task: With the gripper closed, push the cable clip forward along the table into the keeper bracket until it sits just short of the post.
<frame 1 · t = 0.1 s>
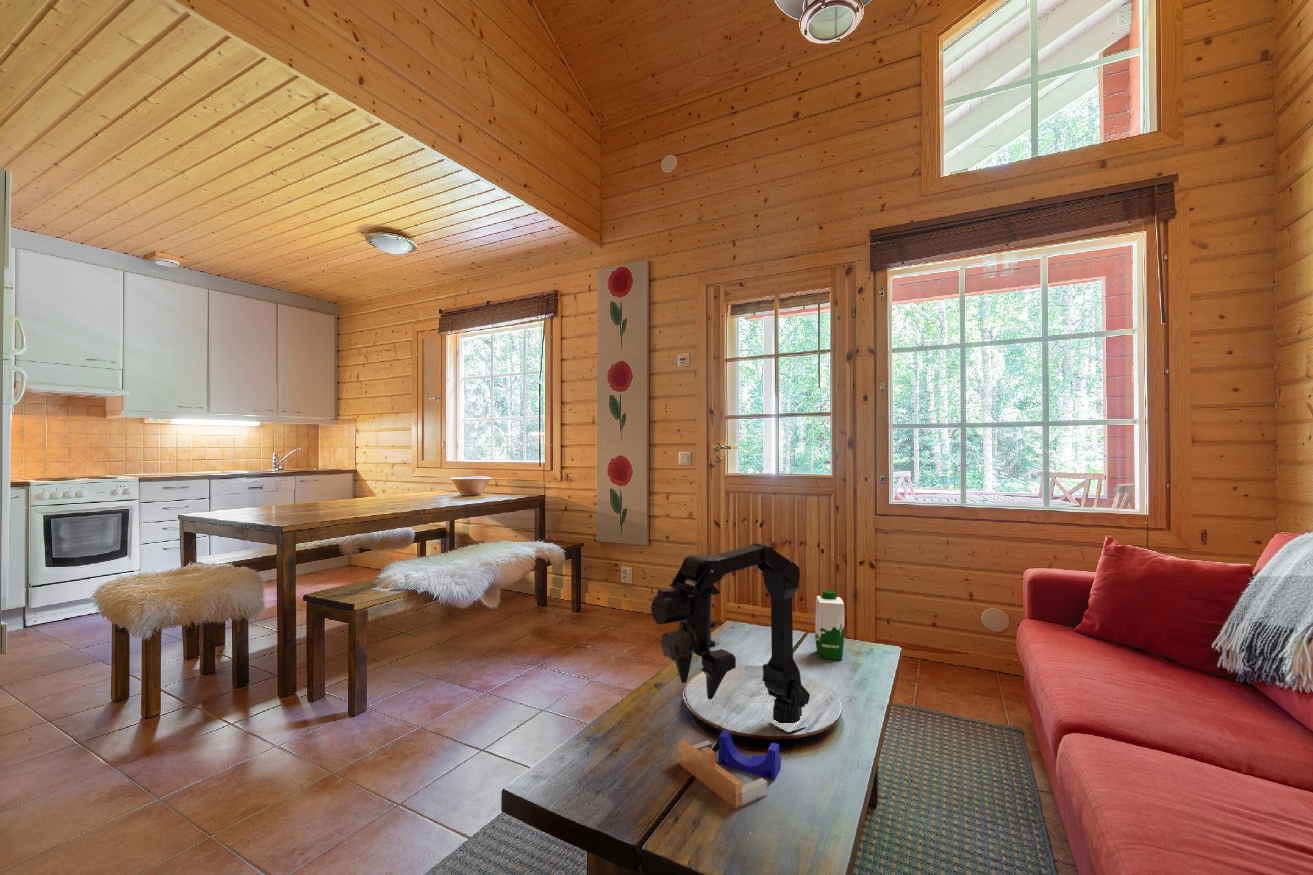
hand: (696, 690, 121), 15 cm above the table, tool pointing down, fingers open, 9 cm apart
keeper: (720, 777, 114), on the table
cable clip: (749, 768, 118), on the table
milk carton: (829, 656, 183), on the table
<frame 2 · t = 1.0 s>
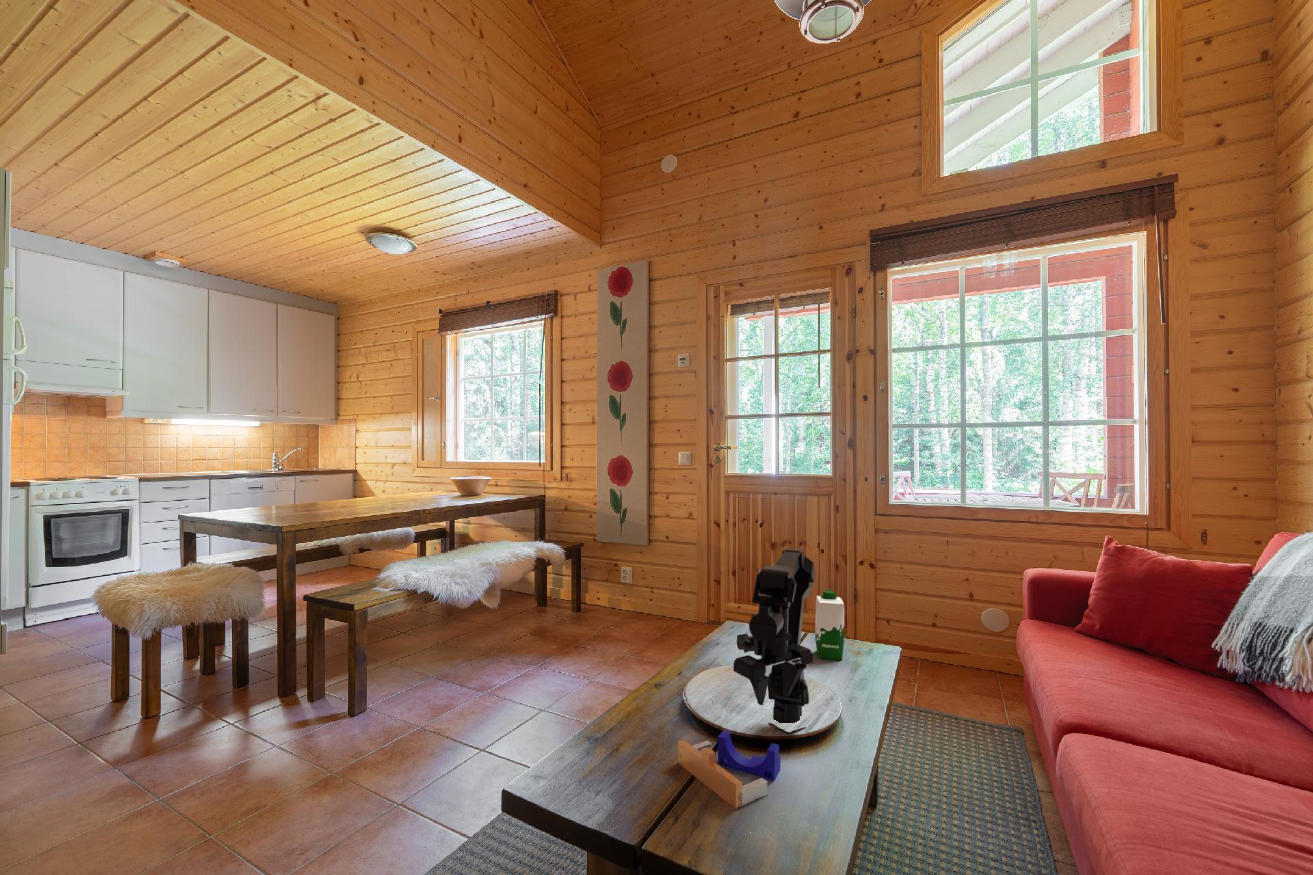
hand: (773, 700, 123), 12 cm above the table, tool pointing down, fingers open, 7 cm apart
nothing on the table moved.
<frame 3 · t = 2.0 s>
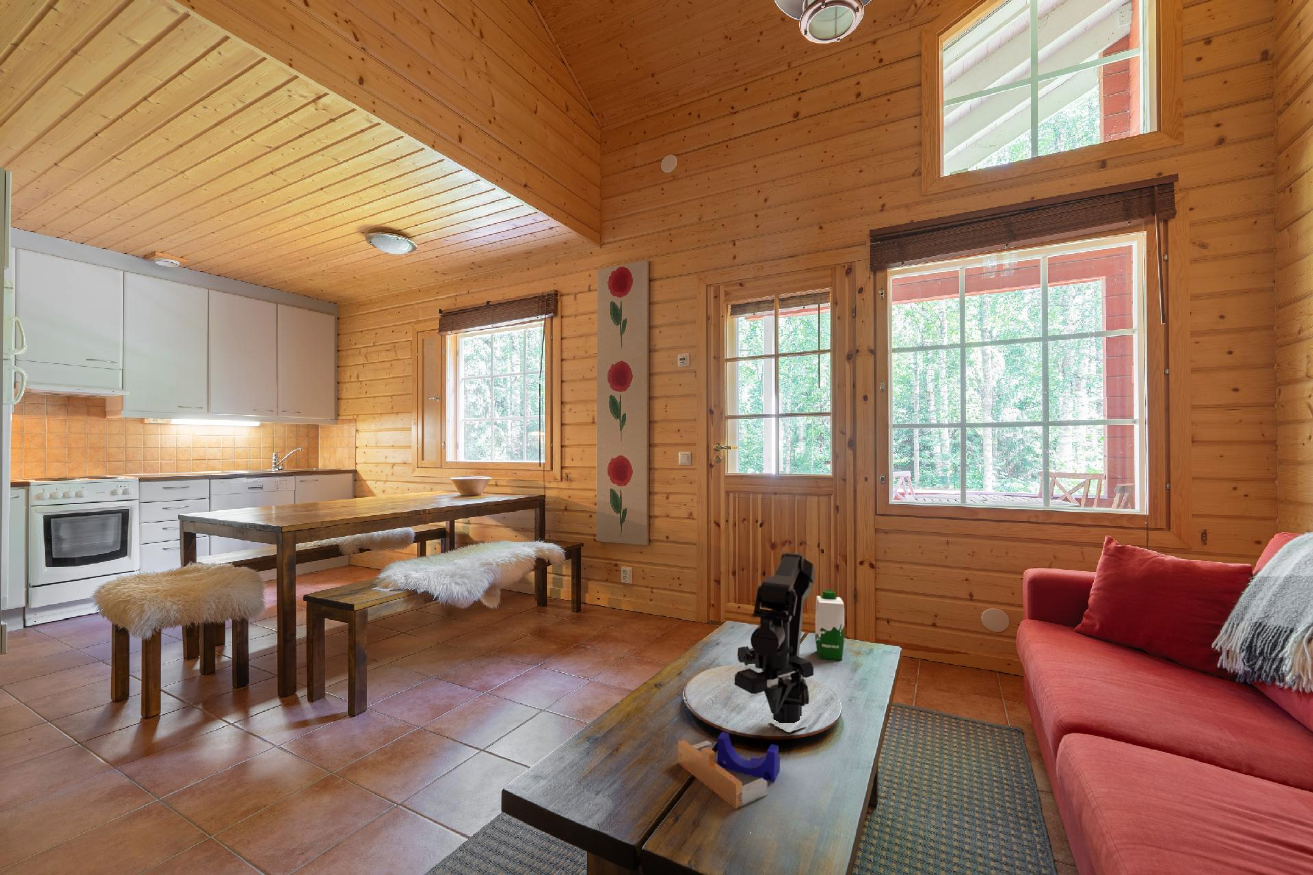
hand: (774, 713, 123), 9 cm above the table, tool pointing down, fingers closed
nothing on the table moved.
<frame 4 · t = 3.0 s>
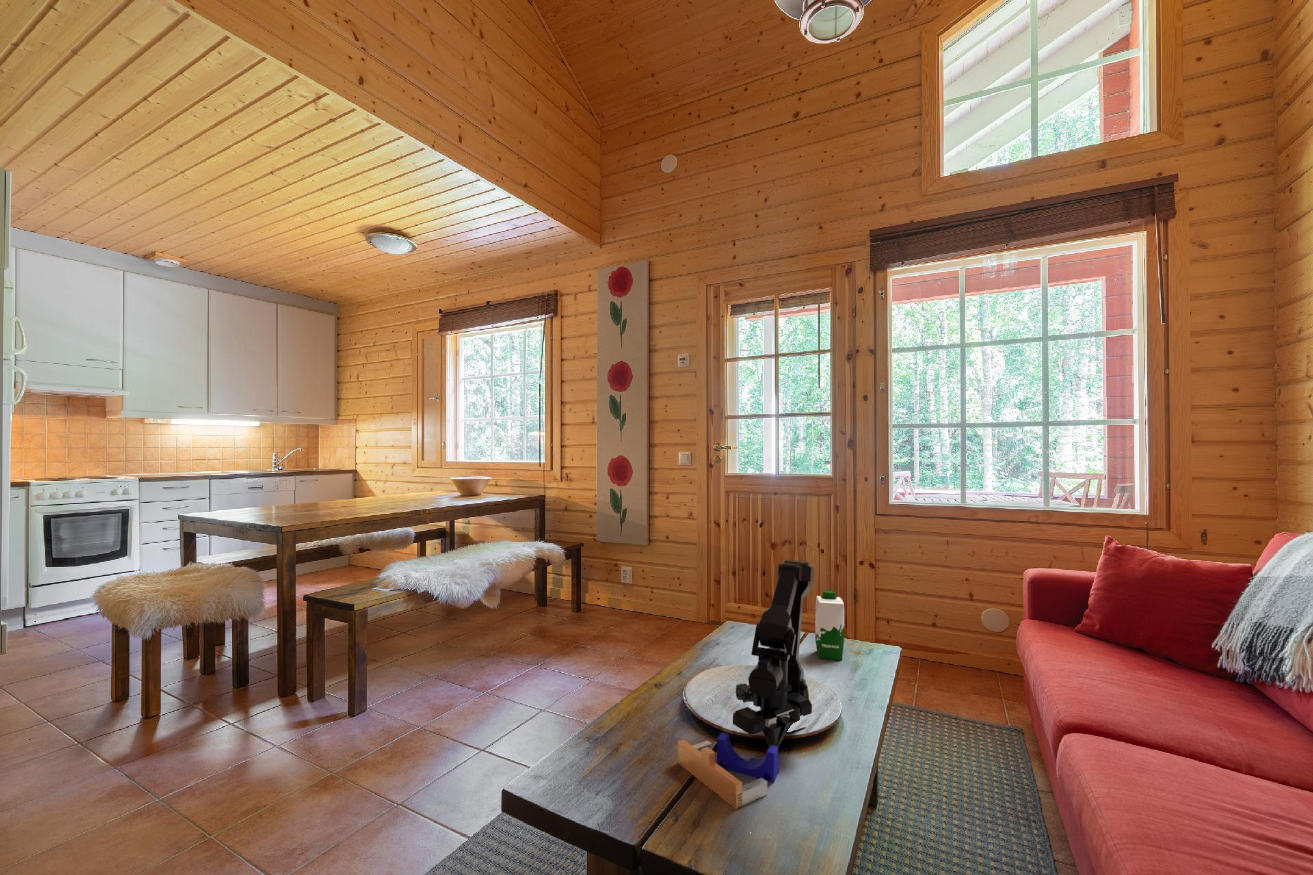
hand: (772, 751, 122), 1 cm above the table, tool pointing down, fingers closed
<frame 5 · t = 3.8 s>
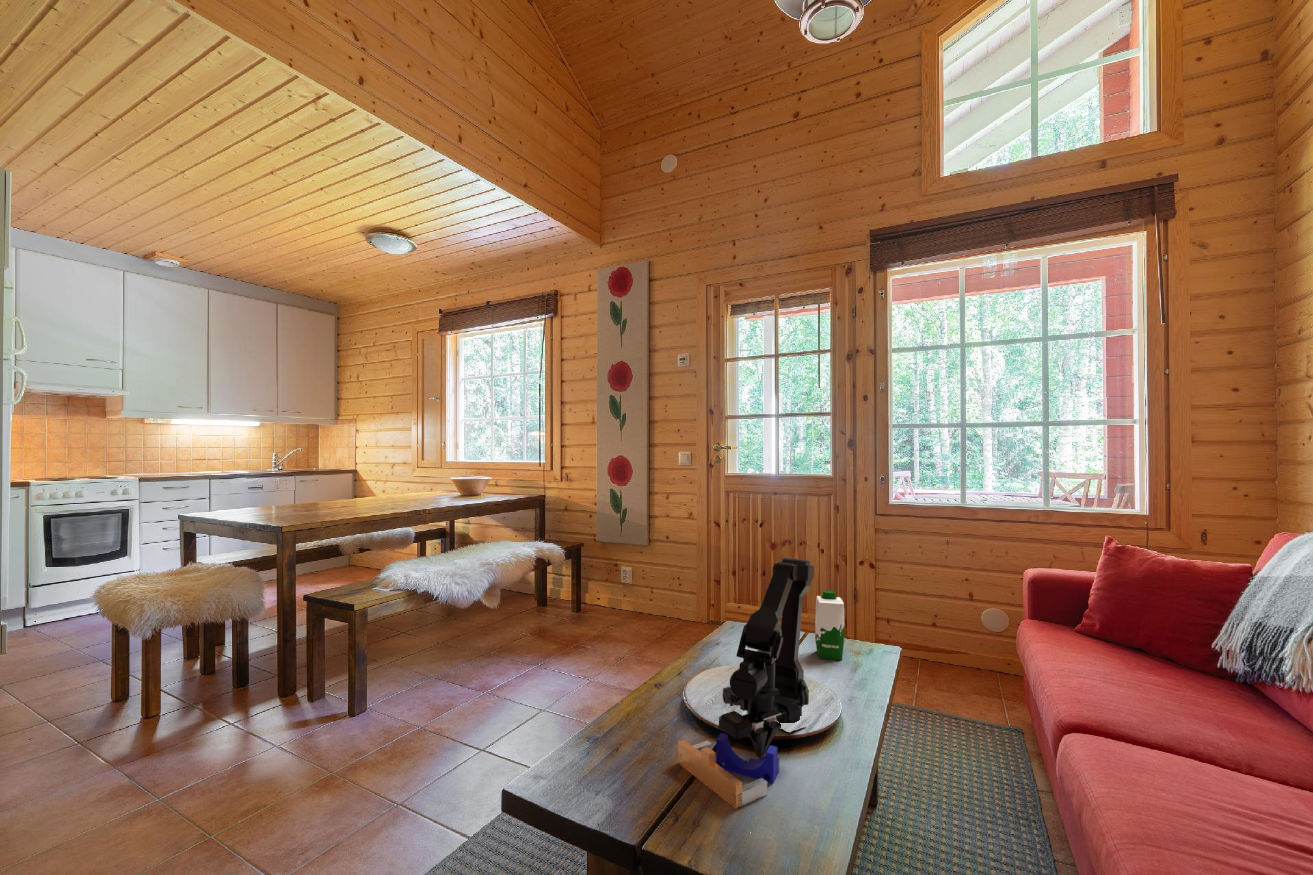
hand: (759, 756, 120), 1 cm above the table, tool pointing down, fingers closed
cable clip: (747, 771, 117), on the table, touching gripper
everything else where it was.
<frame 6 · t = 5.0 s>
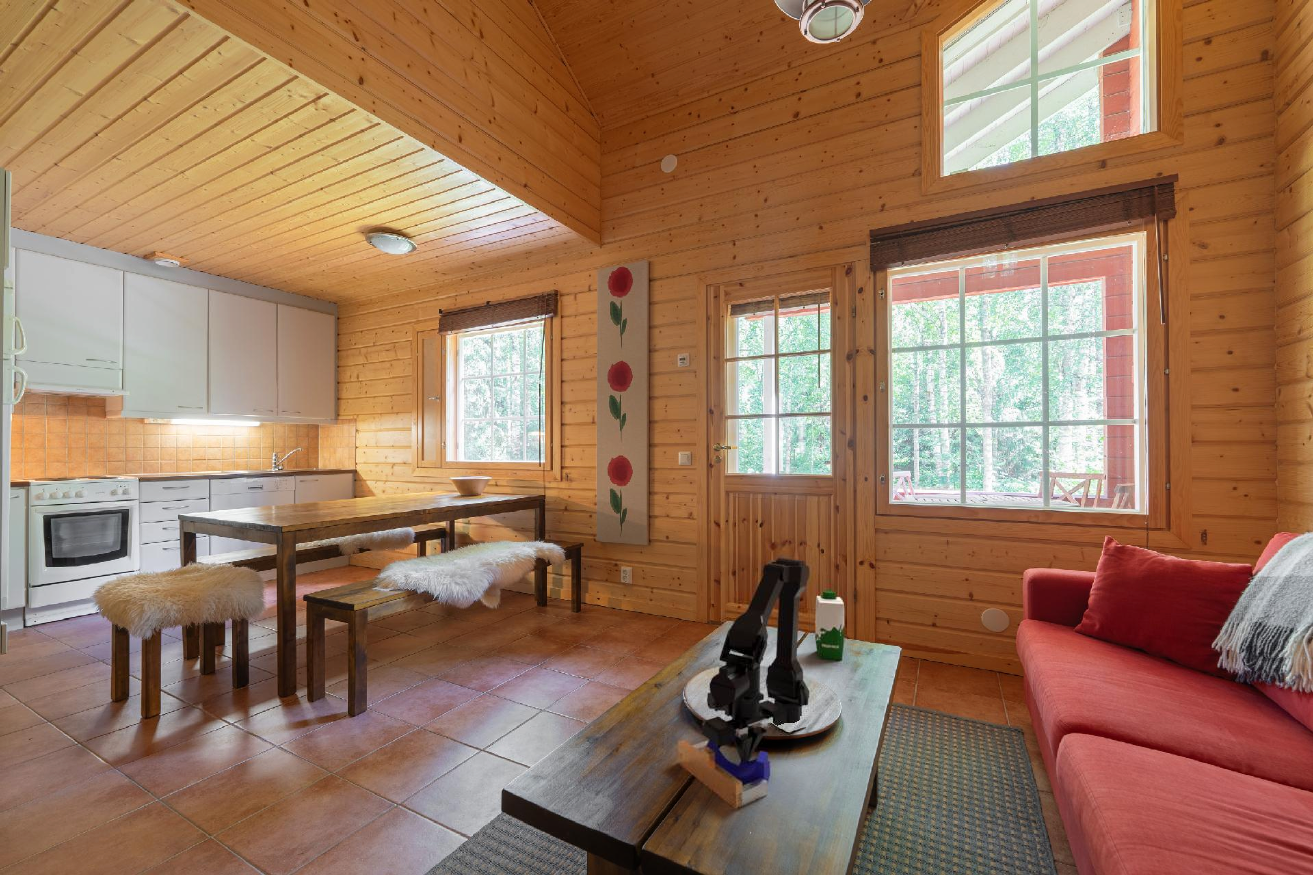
hand: (744, 762, 118), 1 cm above the table, tool pointing down, fingers closed
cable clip: (738, 775, 115), on the table
everything else where it was.
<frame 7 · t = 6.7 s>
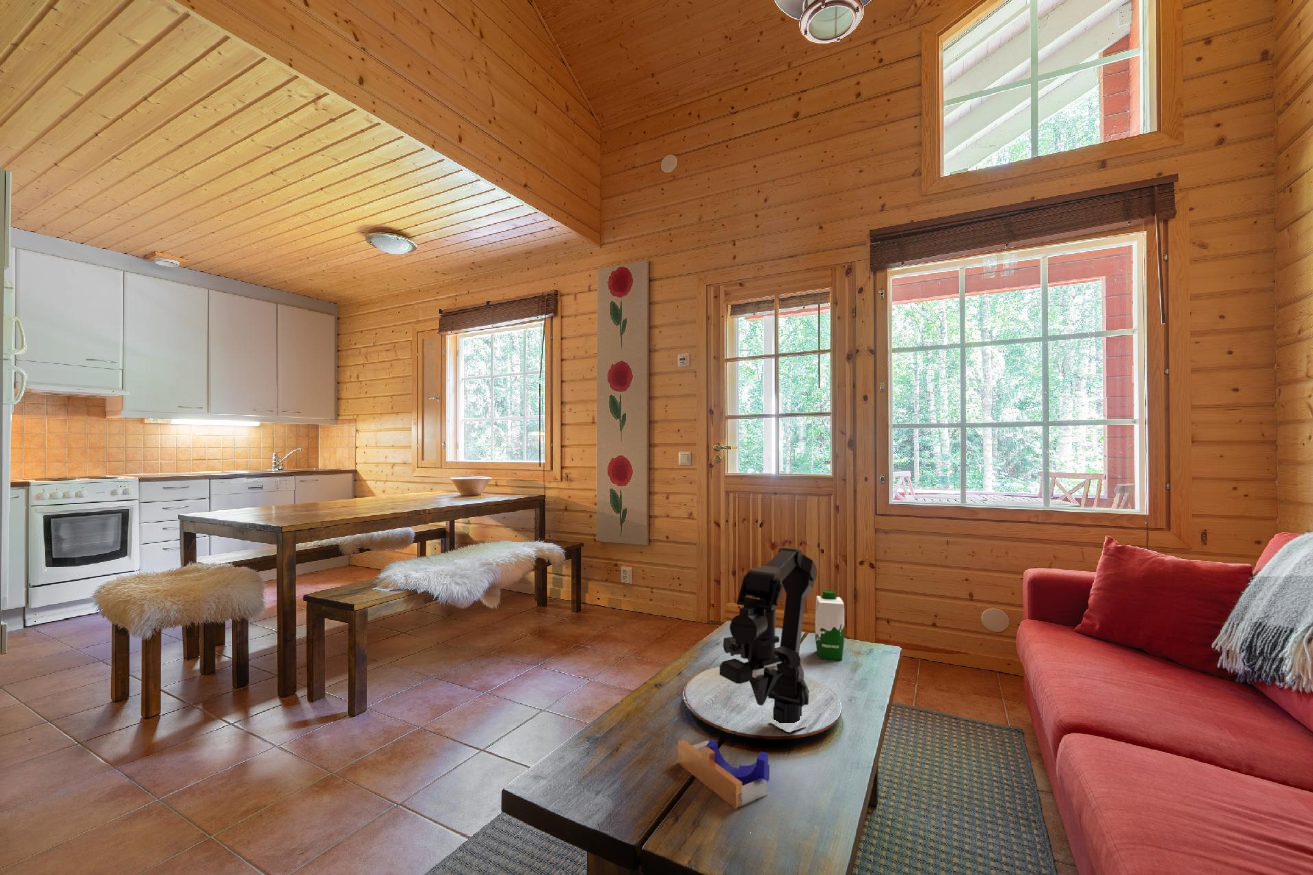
hand: (760, 704, 121), 12 cm above the table, tool pointing down, fingers closed
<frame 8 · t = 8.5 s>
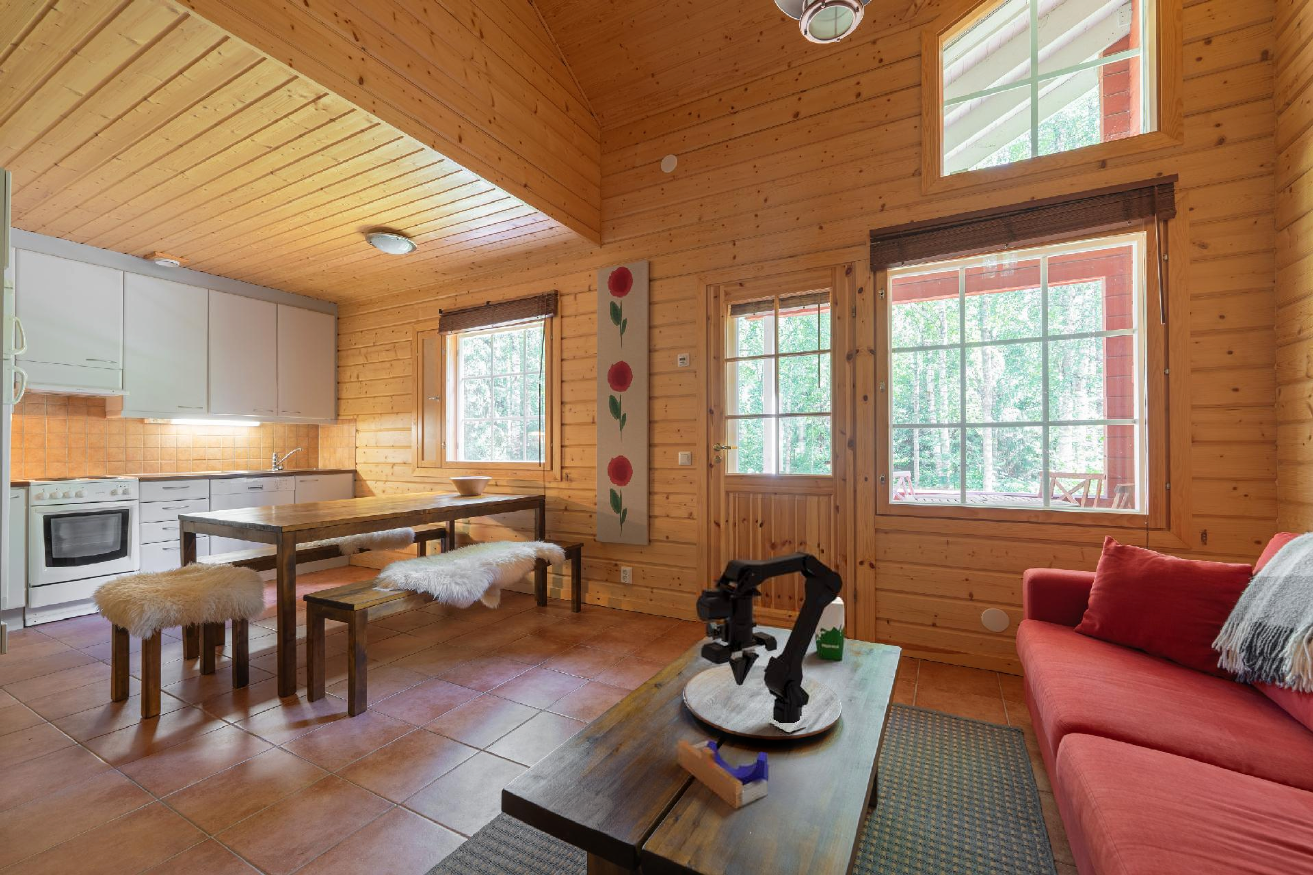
hand: (739, 684, 130), 12 cm above the table, tool pointing down, fingers closed
nothing on the table moved.
at the end: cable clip inside the target area on the keeper (2.5 cm from its centre), point -0.5 cm above the keeper's base; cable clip moved 5.5 cm from its start; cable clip tilted 0° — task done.
